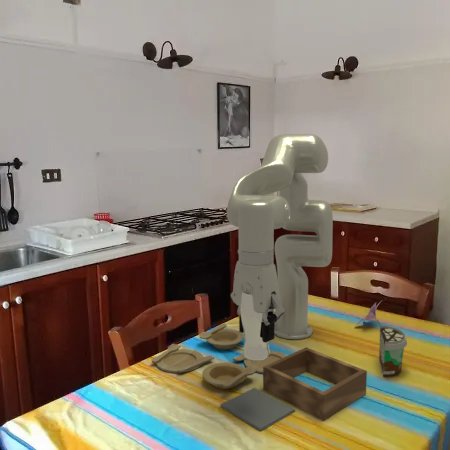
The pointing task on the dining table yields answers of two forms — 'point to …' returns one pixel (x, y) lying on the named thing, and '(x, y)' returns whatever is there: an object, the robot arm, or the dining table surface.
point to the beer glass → (253, 330)
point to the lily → (371, 314)
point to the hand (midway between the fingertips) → (256, 335)
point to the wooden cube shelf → (310, 396)
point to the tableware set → (216, 373)
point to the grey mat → (257, 409)
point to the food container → (391, 350)
